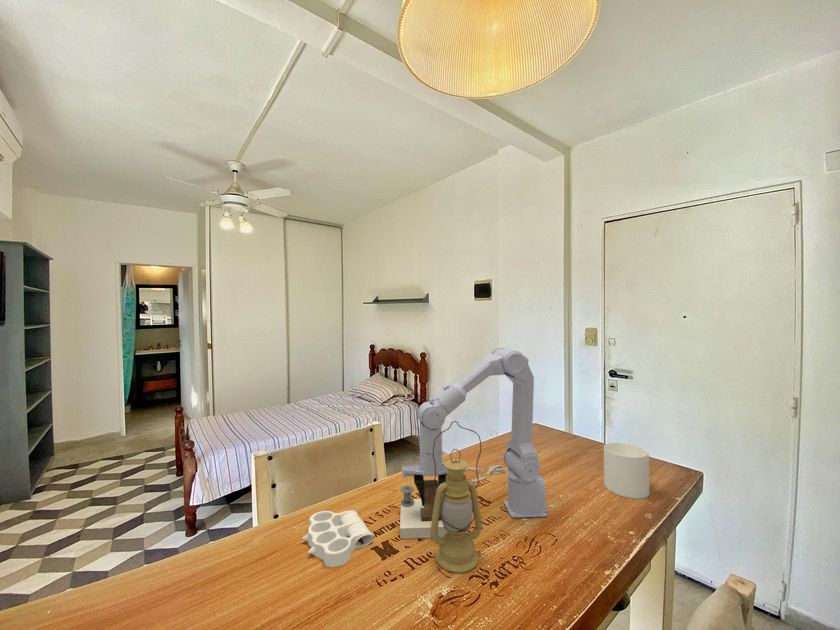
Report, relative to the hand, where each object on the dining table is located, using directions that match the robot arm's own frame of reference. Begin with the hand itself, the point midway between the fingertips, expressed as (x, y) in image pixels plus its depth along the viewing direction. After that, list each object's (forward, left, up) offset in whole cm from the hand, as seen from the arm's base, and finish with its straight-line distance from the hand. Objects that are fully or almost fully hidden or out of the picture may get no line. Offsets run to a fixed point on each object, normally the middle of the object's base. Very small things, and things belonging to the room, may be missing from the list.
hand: (431, 503), depth 88 cm
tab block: (0, 0, -2) cm, 2 cm away
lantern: (-5, +12, -5) cm, 14 cm away
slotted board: (+2, -1, -5) cm, 6 cm away
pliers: (-19, -27, -6) cm, 34 cm away
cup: (-60, -14, -5) cm, 62 cm away
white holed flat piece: (+23, +5, -6) cm, 25 cm away
